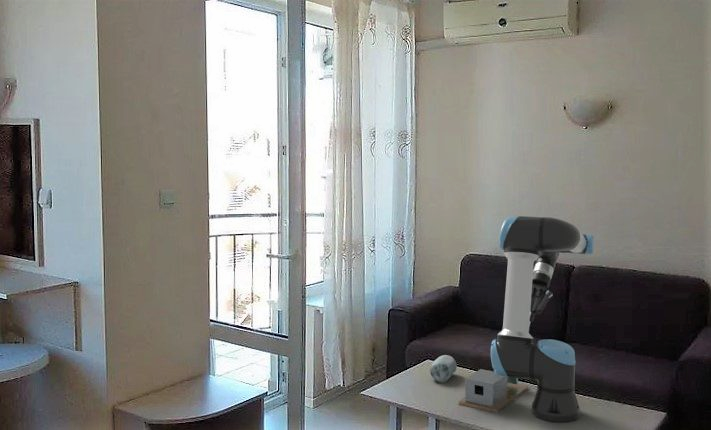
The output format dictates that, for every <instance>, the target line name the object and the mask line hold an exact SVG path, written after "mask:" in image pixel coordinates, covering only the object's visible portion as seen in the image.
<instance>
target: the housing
mask: <svg viewBox="0 0 711 430" xmlns="http://www.w3.org/2000/svg"><path fill="white" fill-rule="evenodd" d="M507 378H508V377H507V376H501V375H498V374H496V373H495V371H494V370H493V371H492V370H486V369H481V368H480V369H479V370H477V371H475V372H474V373H472V374H471V375H469V376H468V377H466V378H465V381H464V382H465V383H464V384H465V388H464V393H465V396H464V397H463V398H462V399H460V400H459V401H458V405H460V406H463V407H464V406H465V407H469V408H473V409H477V410H478V409H479V410H483V411H487V412H491V413H495V414H497V413H499V412H501V411H502V410H503V409H505V407H506V406H508V405H510V403H512V402H513V401H514V400H515V399H517V398H518V397H520V395H522V394H523V393H524V392H526V391H527V390H529V385H525V384H521V383H518V384H512V383H507Z"/></svg>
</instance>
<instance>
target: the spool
mask: <svg viewBox="0 0 711 430" xmlns="http://www.w3.org/2000/svg"><path fill="white" fill-rule="evenodd" d="M457 367H458V366H457V362H456V360H455V359H454V358H453V357H452V356H451V355H449V354H448V355H447V354H444V355H440V356H439V357H437V358H436V359H435V360H434V361H433V362H432V363H431V365H430V366H429V374H430V375H431V377H432V378H433V379H434V380H435V381H436V382H438V383H445V382H447V381H448V380H449V379H450V378H451V377H452V375H454V373H456V371H457Z"/></svg>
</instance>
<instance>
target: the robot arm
mask: <svg viewBox="0 0 711 430" xmlns="http://www.w3.org/2000/svg"><path fill="white" fill-rule="evenodd" d="M499 232H500V233H499V243H498V244H499V249H501V250H502V251H503V255H504V256H505V258H506V259H507V267H506V268H507V270H506V281H505V293H504V306H503V307H504V308H503V320H502V323H503V324H502V329H501V331H499V332H498V333H497V337H496V338H497V339H496V338H494V339H493V340H492V341H491V346H490V361H491V366H492V369H493V371H494V372H495V373H496V374H498V375H501V376H507V377H514V378H518V379H524V380H531V381H536V382H537V385H536V386H537V388H536V392H535V395H534V398H533V401H532V403H531V413H532V415H533V416H535V417H536V418H539V419H542V420H544V421H548V422H555V423H556V422H557V423H566V422H568V423H569V422H573V421H576V420H578V419H579V418H580V416H581V407H580V404H579V401H578V399H577V396H576V392H575V389H576V388H575V385H576V384H575V383H576V382H575V380H576V379H575V378H576V377H575V375H576V374H575V373H576V364H577V363H576V362H577V361H576V357H575V356H576V355H575V354H576V352H575V350H574V348H573V347H572V346H571V345H570V344H568V343H566V342H563V341H561V340H557V339H551V338H550V339H544V338H543V339H539V340H538V342H537V343H533V342H534V337H533V336H532V335H531V334H530V333H529V332H530V326H531V322H532V323H533V322H534V320H535V316H536V315H541V314H542V313H543V311H544V309H545V308H546V306H547V304H548V303H549V301H550V300H551V299H552V298H553V297H554V295H553V292H552V291H550V289H549V287H550V285H551V284H550V283H551V281H552V278H553V274H554V271H555V268H556V264H557V261H558V258H559V256H560V254H574V255H592V254H593V253H594V250H595V237H594V235H592V234H585V233H584V234H581V233H580V231H579V229H578V228H577V227H576V226H575V225H574V224H572V223H571V222H568V221H565V220H562V219H559V218H556V217H545V216H544V217H541V216H525V215H524V216H523V215H522V216H520V215H519V216H508V217H506V219H505V220H504V221H503V222H502V226H501V228H500V231H499ZM534 263H535V265H534Z"/></svg>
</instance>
